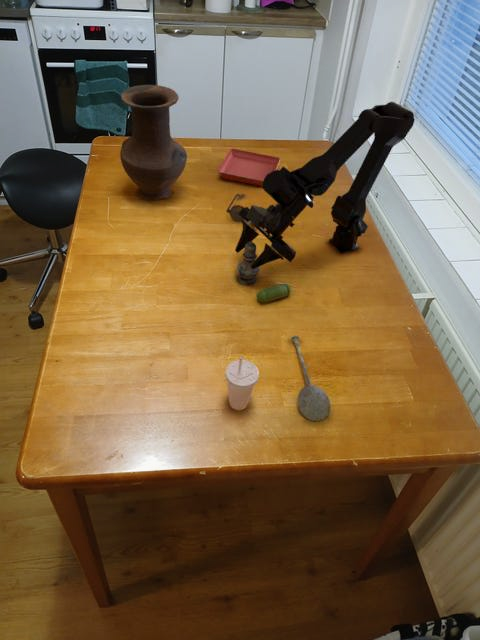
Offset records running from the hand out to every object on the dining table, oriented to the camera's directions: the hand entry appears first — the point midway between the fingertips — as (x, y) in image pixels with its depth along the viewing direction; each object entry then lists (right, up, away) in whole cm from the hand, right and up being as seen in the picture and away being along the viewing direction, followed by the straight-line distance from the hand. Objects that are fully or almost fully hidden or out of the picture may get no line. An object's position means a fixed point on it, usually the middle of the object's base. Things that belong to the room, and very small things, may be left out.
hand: (243, 259), depth 121 cm
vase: (-27, +24, +31) cm, 48 cm away
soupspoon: (+13, -28, -16) cm, 35 cm away
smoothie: (-1, -32, -22) cm, 39 cm away
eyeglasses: (+4, +18, +28) cm, 33 cm away
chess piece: (+1, -4, +5) cm, 7 cm away
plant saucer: (+2, +35, +45) cm, 57 cm away
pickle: (+7, -9, +1) cm, 12 cm away
